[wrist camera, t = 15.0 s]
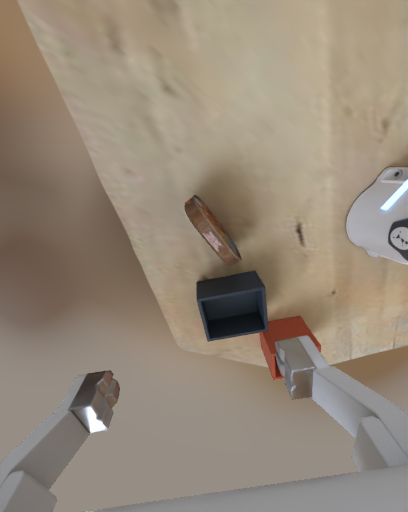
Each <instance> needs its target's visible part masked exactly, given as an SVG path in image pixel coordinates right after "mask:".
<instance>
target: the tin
mask: <svg viewBox="0 0 408 512" xmlns="http://www.w3.org/2000/svg"><path fill="white" fill-rule="evenodd" d="M185 211H186V214H187V216H188V218H189V219H190V221H191V222H192V224H193V225H194V227H195V228H196V229H197V230H198V232H199V233H200V234H201V235H202V237H203V238H204V239H205V240H206V241H207V243H208V244H209V245H210V246H211V248H212V249H213V250H214V251H215V252H216V254H217V255H218V256H219V257H220V258H221V259H222V260H223V261H224V262H225V263H226V264H227V265H232V264H234V263H236V262H237V261H239V260H241V255H240V253H239V251H238V249H237V248H236V246H235V244H234V242H233V241H232V239H231V238H230V237H229V235H228V234H227V233H226V231H225V230H224V229H223V227H222V226H221V225H220V223H219V222H218V221H217V219H216V218H215V217H214V215H213V214H212V213H211V211H210V210H209V209H208V207H207V206H206V205H205V204H204V203H203V202H202V200H201V199H200V198H199V197H197V196H196V195H194V196H193V197H192V198H191V199H190V200H188V201H187V202H186V203H185Z"/></svg>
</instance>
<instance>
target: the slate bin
mask: <svg viewBox="0 0 408 512" xmlns="http://www.w3.org/2000/svg"><path fill="white" fill-rule="evenodd" d="M197 302H198V306H199V310H200V314H201V318H202V322H203V325H204V329H205V333H206V337H207V341H214V340H219V339H225V338H231V337H236V336H242V335H248V334H253V333H259V332H264V331H268V318H267V306H266V294H265V286H264V284H263V283H262V281H261V279H260V278H259V276H258V274H257V273H256V271H252V272H247V273H241V274H236V275H231V276H226V277H221V278H215V279H210V280H205V281H200V282H197Z"/></svg>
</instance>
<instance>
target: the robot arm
mask: <svg viewBox="0 0 408 512" xmlns="http://www.w3.org/2000/svg"><path fill="white" fill-rule="evenodd" d="M395 173H396V174H395ZM346 231H347V234H348V237H349V239H350V240H351V241H352V242H353V243H354V244H356V245H357V246H360V247H362V248H364V249H365V251H366V252H367V254H368V255H370V256H372V257H379V256H383V257H386V258H388V259H391V260H394V261H397V262H399V263H402V264H408V167H388V168H386V169H385V170H384V171H383V172H382V173H381V174H380V176H379V177H378V178H377V180H376V181H375V183H374V184H373V185H372V186H370V187H369V188H368V189H367V190H365V191H364V192H363V193H362V194H361V195H360V196H359V197H358V198H357V200H356V201H355V202H354V204H353V205H352V207H351V209H350V211H349V214H348V217H347V221H346ZM275 348H276V350H277V352H276V360H277V365H278V367H279V370H280V373H281V375H283V376H284V377H285V385H286V387H287V389H288V392H289V394H290V396H291V399H292V400H293V399H300V398H309V397H312V399H313V400H315V402H316V403H318V404H319V405H320V406H321V407H322V408H323V409H324V410H325V411H326V412H327V413H328V414H330V415H331V416H332V417H333V418H334V419H335V420H336V421H337V422H338V423H339V424H341V426H343V427H344V428H345V429H346V430H347V431H348V432H349V433H350V434H351V435H352V436H353V437H355V438H356V441H355V444H354V449H353V453H352V458H353V460H354V462H355V464H356V466H357V468H358V469H359V471H360V472H354V473H347V474H340V475H333V476H326V477H319V478H312V479H305V480H298V481H291V482H285V483H277V484H271V485H264V486H257V487H250V488H244V489H236V490H230V491H222V492H215V493H209V494H201V495H195V496H188V497H181V498H174V499H167V500H160V501H153V502H146V503H139V504H132V505H126V506H118V507H112V508H105V509H98V510H91V511H84V512H408V414H407V413H406V412H405V411H404V410H403V409H401V408H400V407H398V406H397V405H395V404H393V403H392V402H390V401H388V400H387V399H385V398H384V397H382V396H380V395H379V394H377V393H376V392H374V391H372V390H371V389H369V388H367V387H366V386H364V385H363V384H361V383H360V382H358V381H356V380H355V379H353V378H352V377H350V376H348V375H347V374H345V373H344V372H342V371H340V370H339V369H337V368H335V367H334V366H331V367H330V366H329V365H328V363H327V362H326V360H325V359H324V357H323V356H322V354H321V353H320V352H319V350H318V349H317V347H316V346H315V344H314V343H313V341H312V340H311V338H310V337H309V336H308V335H306V336H300V337H293V338H288V339H282V340H277V341H275ZM112 377H113V373H112V372H111V371H102V372H95V373H88V374H82V375H79V376H77V377H76V379H75V380H74V382H73V384H72V385H71V387H70V389H69V390H68V392H67V394H66V396H65V397H64V399H63V401H62V403H61V404H60V406H59V408H58V410H57V411H56V413H52V414H51V415H50V416H49V417H48V418H47V419H46V420H45V421H44V422H43V423H42V424H41V425H40V426H38V427H37V428H36V429H35V430H34V431H33V432H32V433H31V434H30V435H29V436H28V437H27V438H26V439H25V440H24V441H23V442H21V443H20V444H19V445H18V446H17V447H16V448H15V449H14V450H13V451H12V452H11V453H10V454H9V455H8V456H7V457H6V458H4V459H3V460H2V461H1V462H0V512H52V511H53V509H54V507H55V504H56V502H57V498H56V496H55V495H54V494H52V493H51V492H50V491H49V489H50V488H51V486H52V485H53V483H54V482H55V481H56V479H57V478H58V477H59V475H60V474H61V473H62V471H63V470H64V468H65V467H66V466H67V465H68V463H69V462H70V460H71V459H72V458H73V456H74V455H75V454H76V452H77V451H78V450H79V448H80V447H81V445H82V444H83V443H84V441H85V440H86V439H87V437H88V436H89V435H90V434H89V433H93V432H98V431H103V430H108V427H109V424H110V421H111V418H112V415H113V410H112V407H113V406H114V405H115V404H116V403H117V400H118V397H119V391H120V387H119V384H118V382H117V380H115V379H113V378H112Z"/></svg>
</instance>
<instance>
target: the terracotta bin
mask: <svg viewBox="0 0 408 512" xmlns="http://www.w3.org/2000/svg"><path fill="white" fill-rule="evenodd" d="M306 335H308V336H309V337H310V338H311V340H312V341H313V343H314V344H315V346H316V347H317V349H318V350H319V352H320V353H321V345H320V344H319V342H318V341H317V339H316V338H315V336H314V335H313V334H312V332H311V331H310V329H309V328H308V327H307V325H306V324H305V322H304V321H303V319H302V318H301V317H300V316H298V317H292V318H286V319H281V320H275V321H270V322H268V331H264V332H260V340H261V348H262V350H263V353H264V356H265V359H266V361H267V364H268V367H269V370H270V372H271V375H272V378H273V380H275V379H282V378H285V377H284V376H283V375H281V373H280V370H279V367H278V365H277V360H276V352H277V350H276V348H275V341H277V340H282V339H288V338H293V337H300V336H306Z"/></svg>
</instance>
